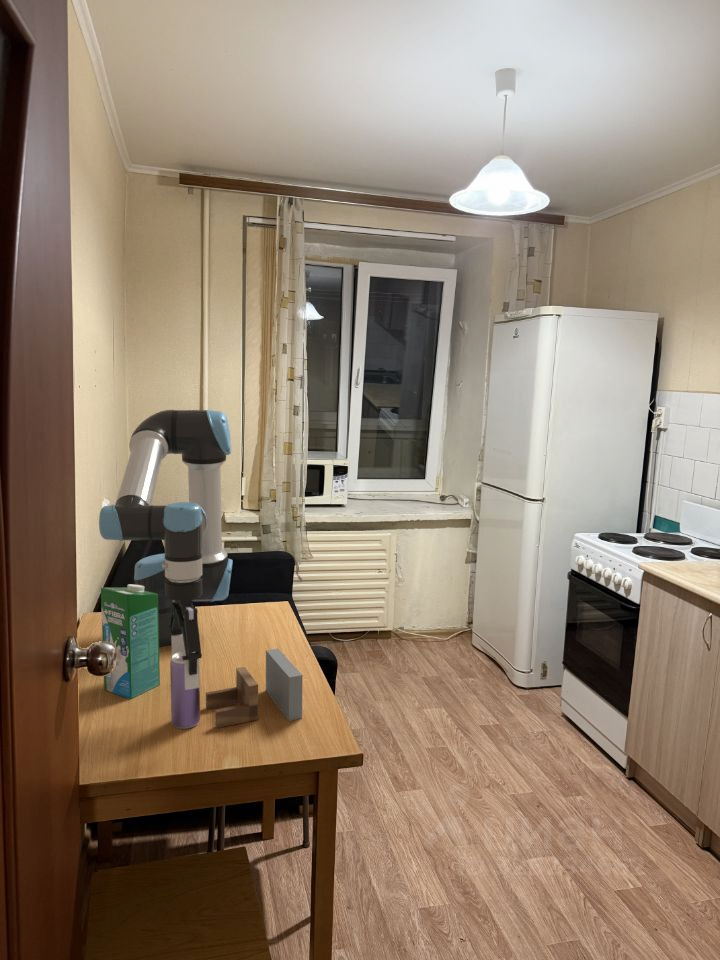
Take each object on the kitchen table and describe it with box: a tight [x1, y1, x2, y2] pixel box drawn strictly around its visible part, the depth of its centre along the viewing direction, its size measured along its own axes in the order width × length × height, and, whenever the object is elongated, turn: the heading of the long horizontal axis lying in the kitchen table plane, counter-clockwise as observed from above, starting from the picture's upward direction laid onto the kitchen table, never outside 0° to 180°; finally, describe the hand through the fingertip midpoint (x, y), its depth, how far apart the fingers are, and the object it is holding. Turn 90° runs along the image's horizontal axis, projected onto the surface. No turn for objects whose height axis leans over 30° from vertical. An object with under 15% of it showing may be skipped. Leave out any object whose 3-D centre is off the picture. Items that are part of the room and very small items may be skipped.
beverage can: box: [169, 652, 201, 730], centre depth 146 cm, size 6×6×15 cm
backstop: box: [265, 648, 303, 722], centre depth 156 cm, size 16×3×10 cm, turn 26°
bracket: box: [205, 666, 259, 729], centre depth 151 cm, size 10×9×8 cm
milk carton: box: [100, 584, 161, 700], centre depth 161 cm, size 9×9×25 cm
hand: (184, 675), depth 145 cm, fingers open, 13 cm apart
